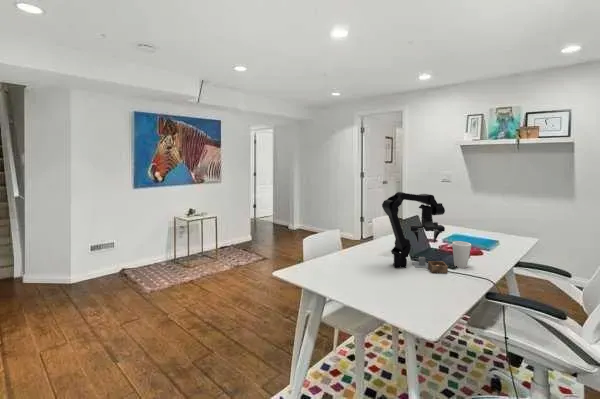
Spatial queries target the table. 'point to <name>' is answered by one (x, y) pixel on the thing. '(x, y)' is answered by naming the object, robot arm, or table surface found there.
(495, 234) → the table surface
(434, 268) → the walnut box
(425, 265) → the lid
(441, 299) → the table surface
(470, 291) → the table surface
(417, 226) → the robot arm
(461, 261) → the foam cup
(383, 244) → the table surface
